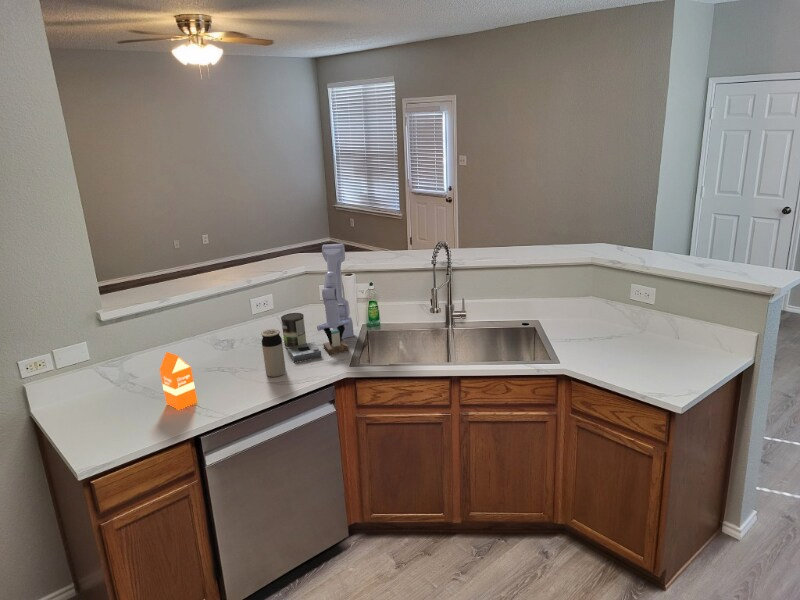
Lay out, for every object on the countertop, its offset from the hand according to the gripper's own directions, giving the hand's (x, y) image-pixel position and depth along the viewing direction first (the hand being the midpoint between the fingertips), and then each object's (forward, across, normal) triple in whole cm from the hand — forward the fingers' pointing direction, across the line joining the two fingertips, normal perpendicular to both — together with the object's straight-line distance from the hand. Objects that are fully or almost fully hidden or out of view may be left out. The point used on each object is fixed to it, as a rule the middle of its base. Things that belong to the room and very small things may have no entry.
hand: (335, 342), depth 255 cm
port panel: (+3, -14, +1) cm, 14 cm away
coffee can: (+4, -15, +16) cm, 22 cm away
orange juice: (+4, -66, -22) cm, 70 cm away
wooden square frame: (+3, 0, 0) cm, 3 cm away
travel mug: (+4, -29, -12) cm, 32 cm away
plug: (+3, 0, 0) cm, 3 cm away
